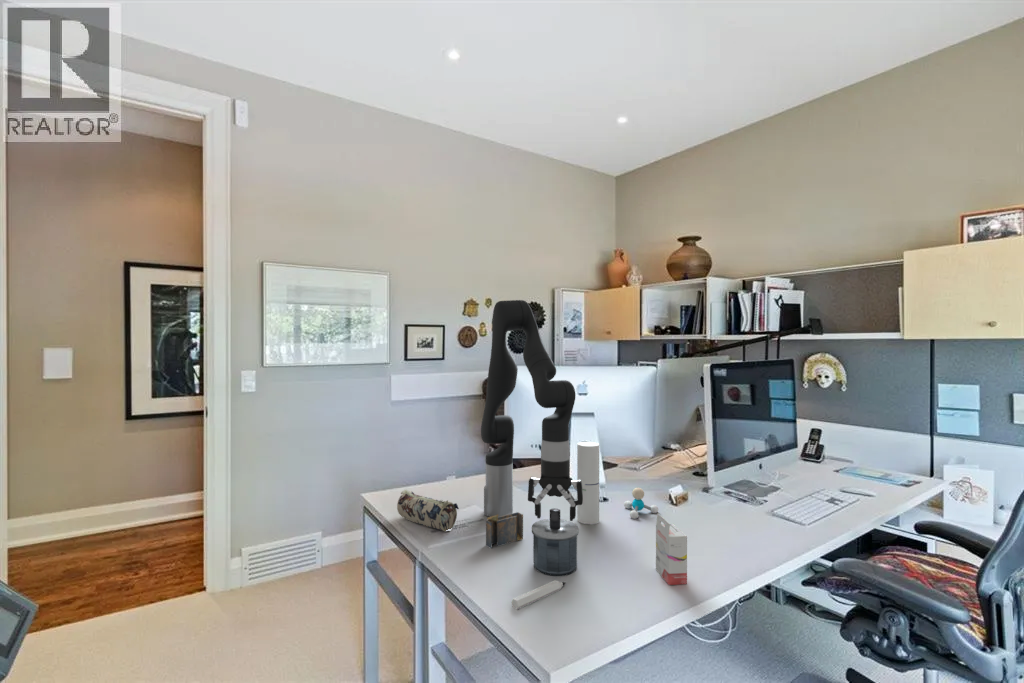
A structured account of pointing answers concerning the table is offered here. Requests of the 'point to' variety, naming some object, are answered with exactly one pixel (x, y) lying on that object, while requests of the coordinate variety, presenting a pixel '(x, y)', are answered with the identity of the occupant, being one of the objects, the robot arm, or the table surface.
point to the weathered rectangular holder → (504, 529)
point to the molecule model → (638, 503)
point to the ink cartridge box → (671, 552)
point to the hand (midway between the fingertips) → (555, 518)
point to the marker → (536, 594)
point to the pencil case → (427, 510)
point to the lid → (555, 528)
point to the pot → (555, 556)
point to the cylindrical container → (588, 481)
